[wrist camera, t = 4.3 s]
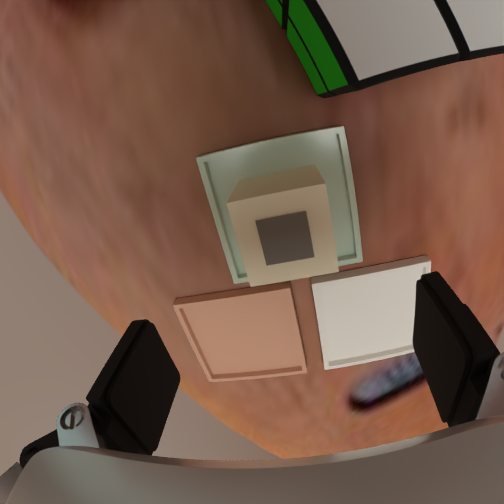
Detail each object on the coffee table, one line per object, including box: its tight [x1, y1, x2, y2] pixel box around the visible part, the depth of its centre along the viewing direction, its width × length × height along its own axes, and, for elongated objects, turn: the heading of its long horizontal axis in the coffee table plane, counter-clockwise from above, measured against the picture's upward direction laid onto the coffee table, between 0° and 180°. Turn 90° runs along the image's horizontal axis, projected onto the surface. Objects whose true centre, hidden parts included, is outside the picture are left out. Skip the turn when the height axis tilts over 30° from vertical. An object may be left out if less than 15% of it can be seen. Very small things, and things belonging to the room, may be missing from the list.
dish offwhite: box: [311, 255, 431, 370], centre depth 24 cm, size 9×9×1 cm
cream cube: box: [226, 165, 339, 287], centre depth 18 cm, size 5×5×5 cm
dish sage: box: [196, 125, 363, 284], centre depth 20 cm, size 9×9×1 cm
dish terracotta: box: [173, 281, 307, 382], centre depth 26 cm, size 9×9×1 cm
